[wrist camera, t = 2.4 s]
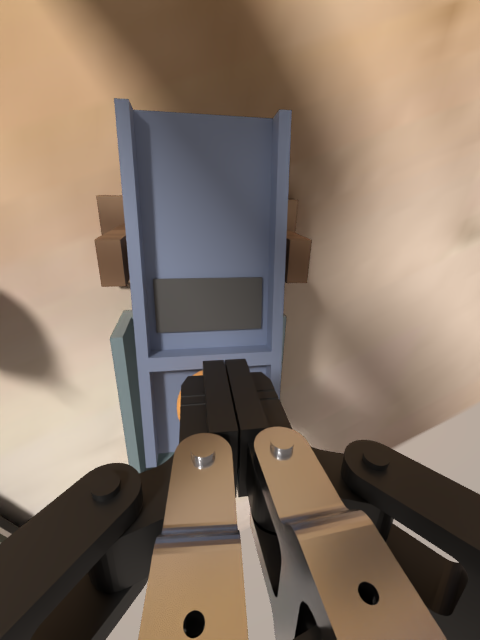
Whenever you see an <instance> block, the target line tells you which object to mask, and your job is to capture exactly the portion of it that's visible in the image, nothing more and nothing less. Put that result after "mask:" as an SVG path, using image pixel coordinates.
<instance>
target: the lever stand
mask: <svg viewBox="0 0 480 640" xmlns="http://www.w3.org/2000/svg"><path fill="white" fill-rule="evenodd" d="M96 198H97V205H98V212H99V219H100V226H101V233H102V236H100V237H98V238H97V239H95V246H96V253H97V259H98V266H99V273H100V279H101V286H102V287H109V286H126V285H127V283H130V276H129V264H128V253H127V241H126V230H125V218H124V207H123V196H111V195H98V196H96ZM297 208H298V200H288V212H287V237H286V261H285V282H286V283H307V278H308V269H309V260H310V251H311V242H312V240H310V239H308V238H306V237H303V236H301V235H299V234H296V233H295V230H296V219H297Z"/></svg>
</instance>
